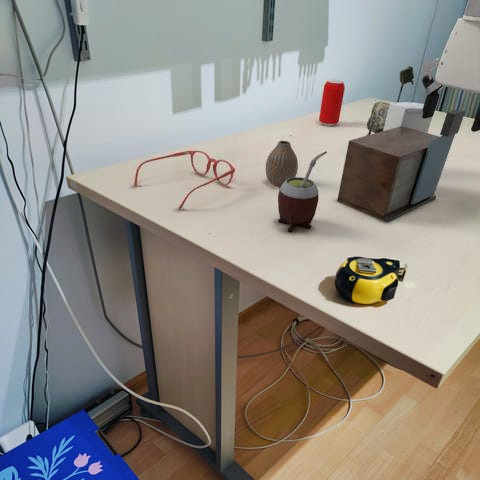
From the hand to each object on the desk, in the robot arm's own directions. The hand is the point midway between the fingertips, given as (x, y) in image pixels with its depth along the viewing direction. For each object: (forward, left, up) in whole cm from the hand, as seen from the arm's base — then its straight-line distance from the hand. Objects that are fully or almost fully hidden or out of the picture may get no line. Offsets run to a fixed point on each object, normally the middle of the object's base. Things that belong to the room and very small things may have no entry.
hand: (450, 123), depth 78 cm
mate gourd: (+9, +30, -16) cm, 35 cm away
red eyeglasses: (+35, +36, -16) cm, 52 cm away
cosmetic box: (+14, -10, -16) cm, 23 cm away
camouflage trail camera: (+24, -19, -16) cm, 34 cm away
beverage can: (+50, -29, -16) cm, 60 cm away
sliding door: (0, +2, -14) cm, 14 cm away
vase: (+25, +18, -16) cm, 34 cm away
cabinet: (+6, +6, -15) cm, 17 cm away
